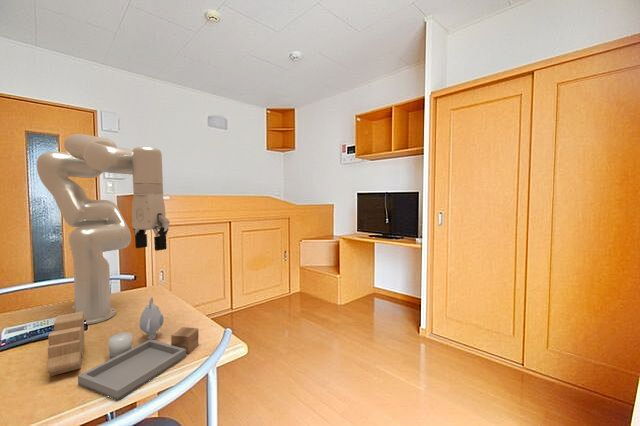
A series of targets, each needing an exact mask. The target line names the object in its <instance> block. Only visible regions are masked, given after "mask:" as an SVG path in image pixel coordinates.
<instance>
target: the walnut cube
mask: <svg viewBox="0 0 640 426" xmlns="http://www.w3.org/2000/svg"><path fill="white" fill-rule="evenodd" d="M170 340H171V342H170V345H173V346H177V347H180V348H184V349H186V355H190V354H191V353H192V352H193V351H194V350H195V349H196V348H198V347H199V328H197V327H195V328H194V327H184V326H181V327H180V328H179V329H177V330H176V331H175V332H174V333H172V334H171V335H170Z"/></svg>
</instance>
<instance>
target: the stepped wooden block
mask: <svg viewBox="0 0 640 426" xmlns="http://www.w3.org/2000/svg"><path fill="white" fill-rule="evenodd" d="M47 337H48V338H47V339H48V341H47V342H48V347H47V358H48V359H47V370H46V371H47V374H49V377H53V376H56V375H60V374H64V373H68V372H72V371H76V370H80V369H82V360H83V357H84V351H85V325H84V311H83V312H77V313H75V312H71V313H66V314H59V315H57V316H56V318H55V320H54V322H53V331H52V332H50V333H48V336H47Z"/></svg>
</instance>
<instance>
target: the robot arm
mask: <svg viewBox="0 0 640 426" xmlns="http://www.w3.org/2000/svg"><path fill="white" fill-rule="evenodd" d="M63 148H64V149H65V152H64V151H48V152H44V153H42V154H40V155H39V156H38V157H37V160H36V171H37V174H38V177H39V180H40V181H41V183H42V184H43V186H44V187H45V188H46V189H47V191H48V192H49V193H50V194H51V196H52V197H53V199H54V201H55V203H56V206H57V208H58V209H59V211H60V213H61V216H62V218H63V220H64V222H65V223H66V224H67V225H68V226H69V227H72V228H74V229H73V230H72V231H70V234H69V235H68V244H69V247H70V251H71V255H72V262H73V279H74V280H73V283H74V284H73V286H74V288H73V289H74V304H73V305H72V306H71V308H72V309H73V310H74V313H77V312H83V311H84V320H86V322H87V325H94V324H97V323H101V322H104V321H107V320H110V319H112V318H113V317H114V316H115V315H116V313H117V310H116V308H114V307H111V277H110V275H111V274H110V263H109V262H108V260H107V259H106V258H105V257H104V256H103V255H102V253H106V252H111V251H117V250H123V249H126V248H127V247H129V246H130V244H131V242H132V232H131V230H130V228H129V226H128V224H127V222H126V220H125V218H124V216H123V214H122V212H121V211H120V209H119V207H118V205H117V204H115V203H114V202H113V201H112V200H108V199H91V198H89V197H88V196H87V194H86V192H85V190H84V189H83V187H81V185H79V184H78V183H77V182H75V181H74V180H73V179H70V178H84V179H95V178H98V177H99V176H101V175H102V173H106V174H109V173H110V174H119V175H121V174H122V175H129V176H130V175H131V176H132V185H133V186H132V189H133V190H132V191H133V197H132V201H131V202H132V206H131V227H132V229H133V235H134V242H135V244H134V247H135V249H142V248H143V249H144V248H147V247H148V234H147V233H146V232H147V231H151V230H152V232H153V233H154V235H155V236H154V238H153V240H154V243H153V244H154V251H156V252H158V251H163V250H167V246H168V245H167V236H168V231H169V226H170V223H171V222H170V220H169V219H168V218H167V216H166V207H165V206H166V205H165V199H164V183H163V182H164V180H163V179H164V178H163V156H162V152H161V150H160V149H158V148H156V147H152V146H151V147H150V146H137V147H133V149H131V148H123V147H118V146H117V145H116V143H115V142H114V141H113V140H112V139H110V138H107V137H103V136H102V137H100V136H96V135H90V134H83V133H75V134H74V133H73V134H71V135H69V136H67V137H66V138H65V139H64V142H63Z"/></svg>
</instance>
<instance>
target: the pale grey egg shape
mask: <svg viewBox="0 0 640 426" xmlns="http://www.w3.org/2000/svg"><path fill="white" fill-rule="evenodd" d="M132 336H133V335H132V333H130V332H129V331H128V332H125V331H124V332H119V333H116V334H113V335H112V336H110V337H109V338H108V358H109V359H108V360H110V359H112V358H114V357H116V356H118V355H120V354H122V353H124V352H126V351H128V350H130V349H132V348H133V344H132V343H133V337H132Z"/></svg>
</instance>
